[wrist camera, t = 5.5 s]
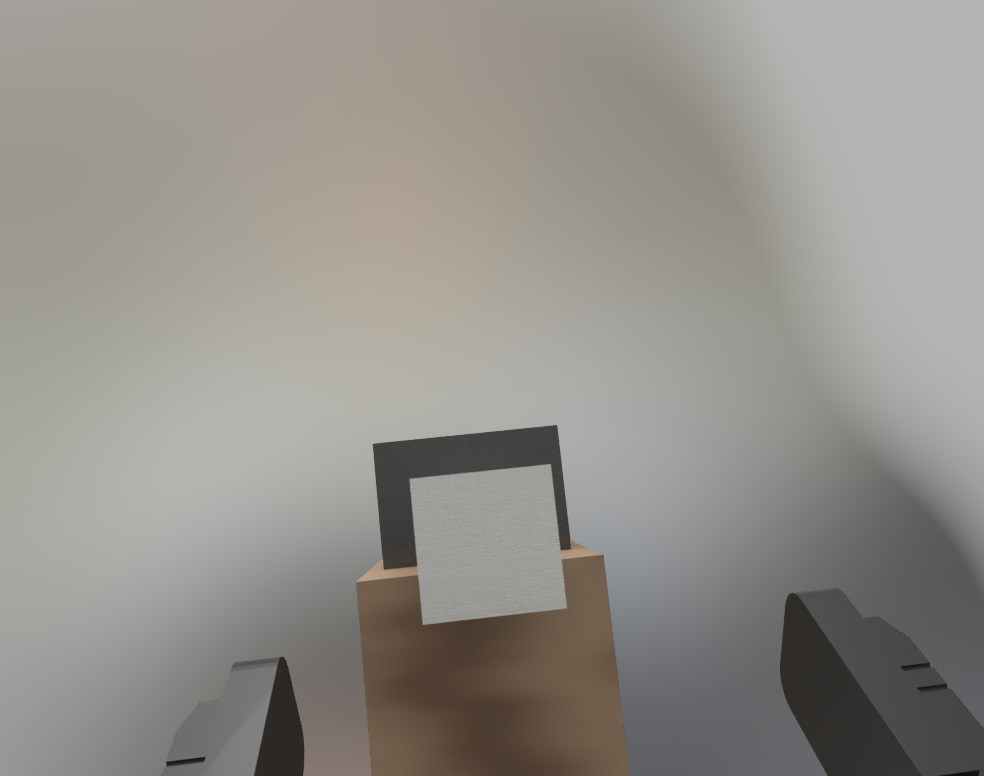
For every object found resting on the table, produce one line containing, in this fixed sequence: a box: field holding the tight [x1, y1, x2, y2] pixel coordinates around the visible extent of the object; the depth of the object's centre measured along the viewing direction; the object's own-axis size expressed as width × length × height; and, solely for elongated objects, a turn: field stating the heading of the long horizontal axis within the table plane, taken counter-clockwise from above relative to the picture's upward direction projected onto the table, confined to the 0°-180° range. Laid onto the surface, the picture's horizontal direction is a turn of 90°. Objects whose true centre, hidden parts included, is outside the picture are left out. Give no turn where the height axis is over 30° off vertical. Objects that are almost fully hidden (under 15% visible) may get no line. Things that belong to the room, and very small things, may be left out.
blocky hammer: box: [373, 425, 571, 625], centre depth 22 cm, size 6×16×4 cm, turn 2°
